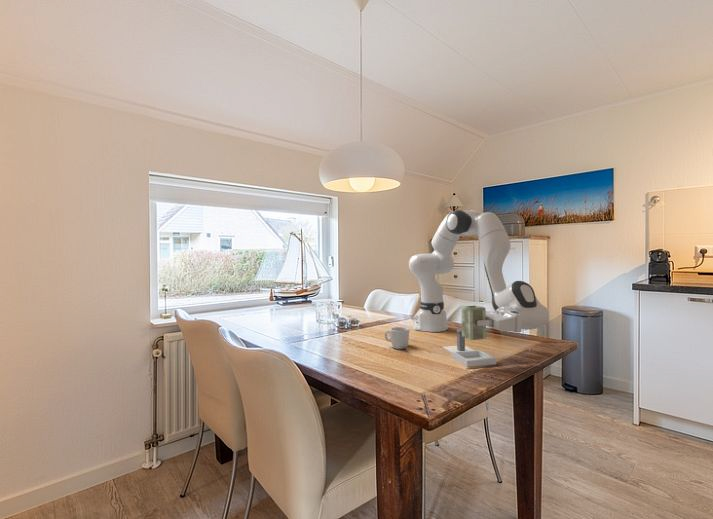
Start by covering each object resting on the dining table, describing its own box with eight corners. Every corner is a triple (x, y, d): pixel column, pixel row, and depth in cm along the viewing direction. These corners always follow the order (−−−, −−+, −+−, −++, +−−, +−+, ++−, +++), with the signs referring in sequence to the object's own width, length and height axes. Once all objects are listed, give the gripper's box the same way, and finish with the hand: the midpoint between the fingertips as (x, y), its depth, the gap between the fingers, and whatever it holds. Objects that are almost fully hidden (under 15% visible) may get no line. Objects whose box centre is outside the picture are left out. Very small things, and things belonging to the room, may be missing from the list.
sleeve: (461, 336, 129) (461, 306, 129) (476, 335, 130) (476, 305, 130) (470, 340, 123) (469, 308, 123) (486, 338, 125) (485, 307, 124)
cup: (381, 348, 149) (381, 329, 149) (388, 343, 156) (388, 325, 156) (405, 351, 144) (405, 331, 144) (412, 346, 151) (411, 327, 151)
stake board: (442, 349, 146) (441, 327, 146) (464, 347, 148) (464, 326, 148) (453, 356, 136) (453, 332, 136) (477, 354, 138) (477, 331, 138)
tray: (452, 359, 132) (452, 351, 132) (479, 357, 134) (479, 349, 134) (467, 369, 121) (466, 360, 121) (496, 366, 123) (496, 358, 123)
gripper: (489, 306, 139) (457, 307, 137) (524, 314, 119) (486, 317, 117) (489, 322, 140) (457, 324, 137) (524, 333, 120) (487, 336, 117)
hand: (471, 321), depth 127 cm, fingers closed on sleeve, 6 cm apart
